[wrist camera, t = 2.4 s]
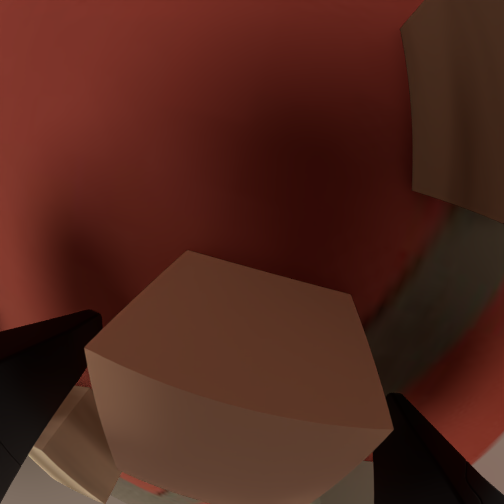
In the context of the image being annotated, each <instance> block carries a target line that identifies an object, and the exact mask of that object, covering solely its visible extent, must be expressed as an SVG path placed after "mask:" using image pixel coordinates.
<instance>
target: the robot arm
mask: <svg viewBox="0 0 504 504" xmlns="http://www.w3.org/2000/svg"><path fill="white" fill-rule="evenodd" d="M102 329H103V326H102V316H101V314H99V313H98V312H95V311H93V310H90V309H88V310H84V311H81V312H77V313H73V314H69V315H65V316H61V317H57V318H53V319H49V320H45V321H41V322H37V323H33V324H29V325H25V326H21V327H17V328H13V329H9V330H5V331H1V332H0V503H1V501H2V499H3V497H4V496H5V494H6V492H7V490H8V488H9V487H10V485H11V483H12V481H13V480H14V478H15V476H16V474H17V473H18V471H19V469H20V467H21V465H22V464H23V462H24V460H25V459H26V457H27V456H28V454H29V452H30V451H31V449H32V448H33V446H34V445H35V443H36V441H37V440H38V438H39V437H40V435H41V434H42V432H43V431H44V429H45V428H46V426H47V425H48V423H49V422H50V420H51V419H52V417H53V416H54V414H55V413H56V411H57V410H58V408H59V407H60V405H61V404H62V403H63V401H64V400H65V398H66V397H67V396H68V394H69V393H70V391H71V390H72V388H73V387H74V386H75V384H76V383H77V382H78V380H79V379H80V377H81V376H82V374H83V372H84V371H85V369H86V367H87V361H86V355H85V349H84V347H85V346H86V345H87V344H88V343H89V342H90V341H91V340H92V339H93V338H94V337H95V336H96V335H97V334H98V333H99V332H100V331H101V330H102ZM385 399H386V402H387V406H388V409H389V413H390V417H391V420H392V424H393V428H394V430H393V431H392V432H391V433H390V434H389V435H388V436H387V438H386V439H385V440H384V441H383V442H382V443H381V444H380V445H379V446H378V447H377V448H376V449H375V450H374V451H373V471H374V504H504V495H503V494H502V493H501V492H500V491H498V490H497V489H496V488H495V487H494V486H493V485H491V484H490V483H489V482H488V481H487V480H486V479H485V478H483V477H482V476H481V475H480V474H479V473H478V472H477V471H476V470H475V469H474V468H473V467H472V466H471V465H470V464H469V462H468V461H466V459H465V458H464V457H463V456H462V455H461V454H460V453H459V452H458V451H457V450H456V449H455V448H454V447H453V446H452V445H451V444H450V443H449V442H448V441H447V440H446V439H445V438H444V437H443V436H442V435H441V434H440V433H439V432H438V431H437V429H436V428H435V427H434V426H433V425H432V424H431V423H430V422H429V421H428V420H427V419H426V418H425V417H424V416H423V415H422V414H421V413H420V412H419V411H418V410H417V409H416V408H415V407H414V406H413V405H412V404H411V403H410V402H409V401H408V400H407V399H406V398H405V397H404V396H403V395H402V394H400V393H389V394H388V395H387V396H386V397H385Z"/></svg>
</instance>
